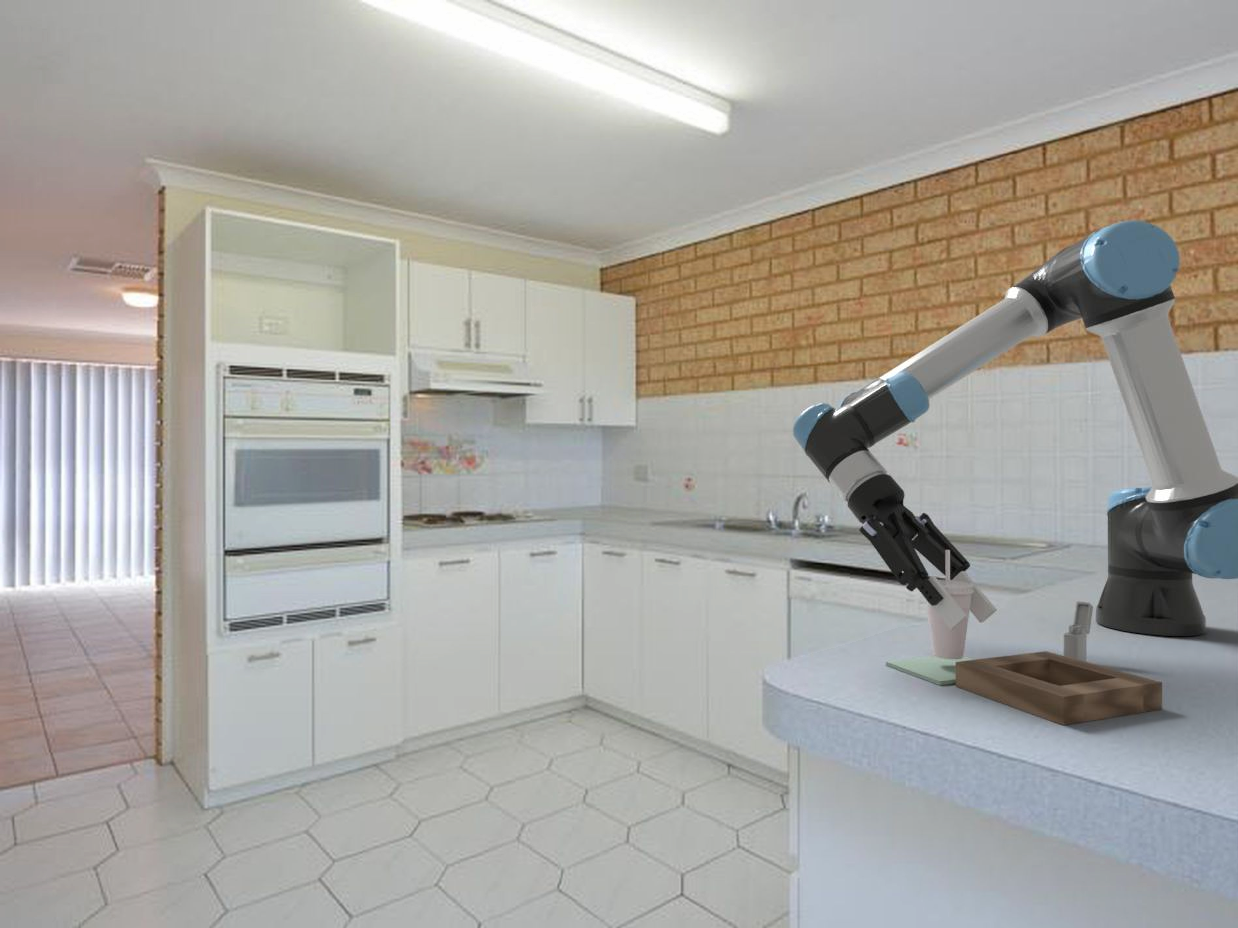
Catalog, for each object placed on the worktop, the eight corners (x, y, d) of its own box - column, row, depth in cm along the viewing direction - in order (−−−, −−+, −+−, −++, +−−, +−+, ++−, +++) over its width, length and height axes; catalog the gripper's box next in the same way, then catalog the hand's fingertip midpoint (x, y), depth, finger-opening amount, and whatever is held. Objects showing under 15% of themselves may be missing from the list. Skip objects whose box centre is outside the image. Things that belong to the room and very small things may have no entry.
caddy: (1046, 674, 101) (1046, 651, 101) (1162, 708, 87) (1162, 682, 87) (955, 686, 95) (955, 661, 95) (1063, 725, 81) (1063, 696, 81)
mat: (955, 657, 109) (955, 653, 109) (1013, 675, 100) (1013, 671, 100) (885, 665, 105) (885, 661, 105) (940, 685, 96) (940, 681, 96)
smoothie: (971, 651, 105) (971, 548, 105) (977, 663, 99) (977, 554, 98) (921, 648, 107) (921, 547, 107) (923, 659, 101) (923, 552, 101)
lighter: (1077, 667, 104) (1077, 608, 104) (1063, 665, 105) (1063, 606, 105) (1093, 658, 109) (1093, 601, 109) (1079, 656, 110) (1079, 600, 110)
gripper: (891, 504, 121) (993, 627, 107) (809, 509, 109) (911, 646, 96) (922, 470, 116) (1032, 594, 103) (839, 472, 105) (951, 611, 92)
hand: (973, 619), depth 100 cm, fingers closed on smoothie, 6 cm apart
